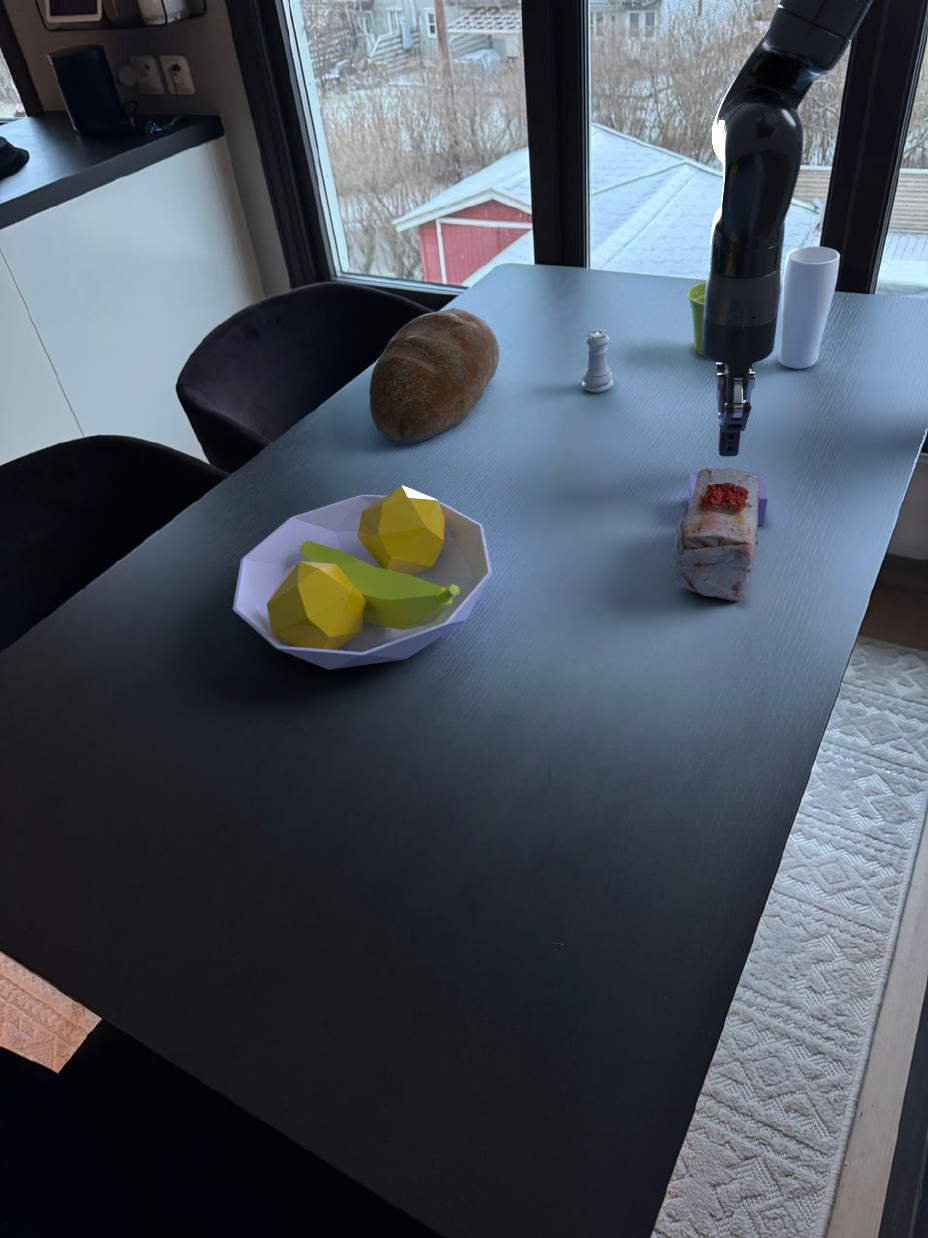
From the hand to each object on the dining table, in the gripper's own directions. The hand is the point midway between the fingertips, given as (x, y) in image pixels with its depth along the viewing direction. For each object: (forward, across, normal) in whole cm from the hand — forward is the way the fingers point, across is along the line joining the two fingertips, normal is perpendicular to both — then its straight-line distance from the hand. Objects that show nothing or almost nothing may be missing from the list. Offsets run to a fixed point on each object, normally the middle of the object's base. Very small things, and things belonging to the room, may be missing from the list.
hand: (728, 452), depth 104 cm
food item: (+3, -18, +2) cm, 18 cm away
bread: (+3, +22, +39) cm, 45 cm away
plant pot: (+3, +35, -1) cm, 35 cm away
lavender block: (+3, -8, +1) cm, 8 cm away
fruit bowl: (+3, -27, +37) cm, 46 cm away
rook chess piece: (+3, +24, +16) cm, 29 cm away
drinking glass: (+4, +30, -12) cm, 32 cm away
